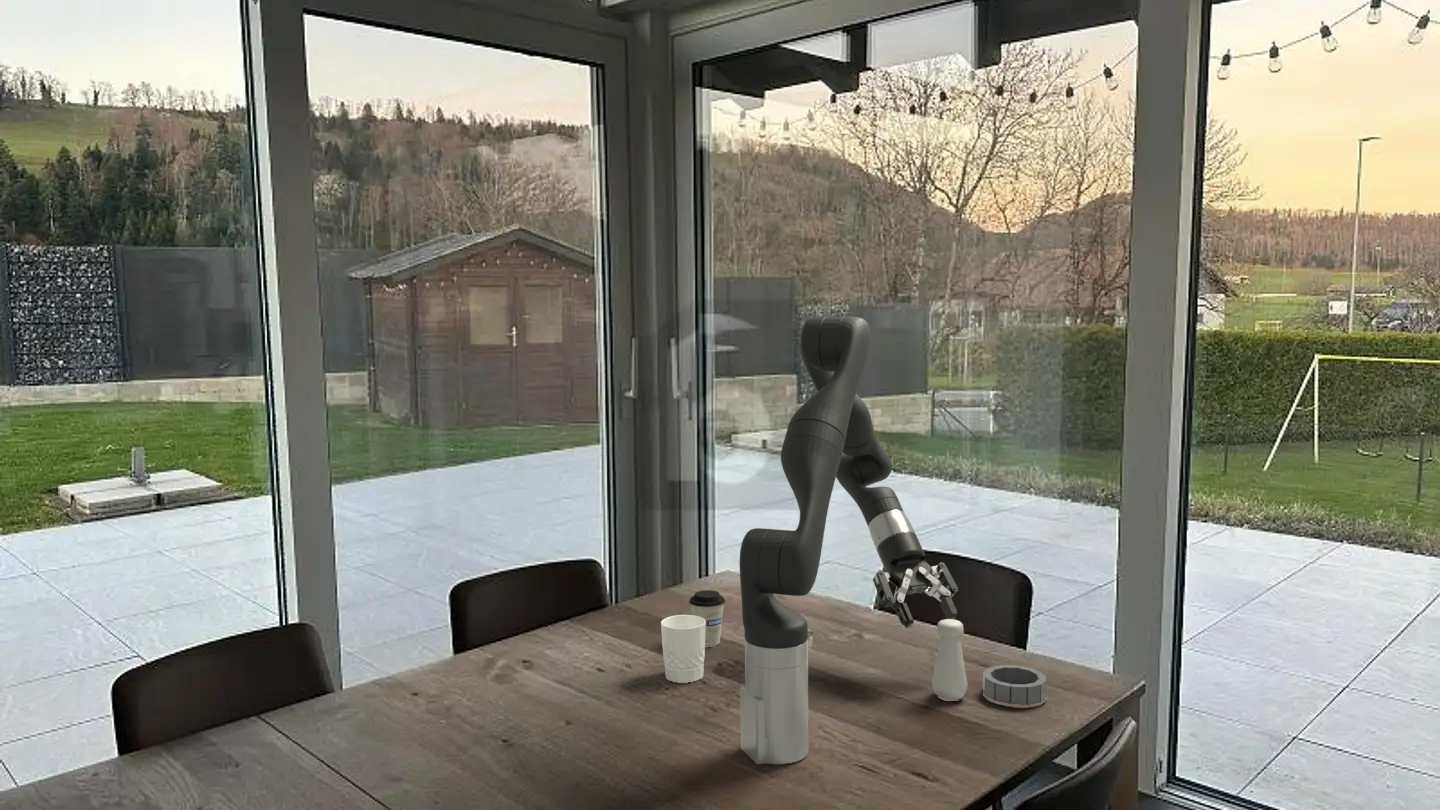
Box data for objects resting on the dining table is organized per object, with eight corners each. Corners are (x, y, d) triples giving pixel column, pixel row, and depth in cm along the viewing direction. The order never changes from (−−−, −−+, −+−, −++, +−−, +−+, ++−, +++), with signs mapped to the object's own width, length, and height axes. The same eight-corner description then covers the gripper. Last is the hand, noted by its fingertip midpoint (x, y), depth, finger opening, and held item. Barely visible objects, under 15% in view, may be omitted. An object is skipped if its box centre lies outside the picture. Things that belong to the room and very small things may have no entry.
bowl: (1008, 712, 167) (1008, 691, 167) (969, 690, 176) (969, 670, 176) (1060, 702, 171) (1061, 681, 170) (1019, 680, 180) (1020, 661, 180)
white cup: (709, 669, 188) (708, 615, 187) (704, 685, 180) (703, 629, 179) (665, 668, 189) (664, 614, 188) (658, 684, 181) (657, 628, 180)
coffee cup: (684, 641, 203) (683, 591, 202) (716, 636, 206) (715, 586, 205) (698, 652, 197) (697, 600, 196) (731, 646, 200) (731, 595, 198)
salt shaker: (967, 705, 170) (968, 627, 169) (931, 702, 171) (932, 625, 170) (966, 691, 176) (967, 616, 174) (932, 689, 177) (932, 615, 176)
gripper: (868, 534, 181) (904, 617, 172) (938, 526, 186) (976, 606, 177) (853, 557, 187) (887, 638, 177) (921, 548, 192) (957, 627, 183)
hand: (931, 622), depth 177 cm, fingers open, 8 cm apart
